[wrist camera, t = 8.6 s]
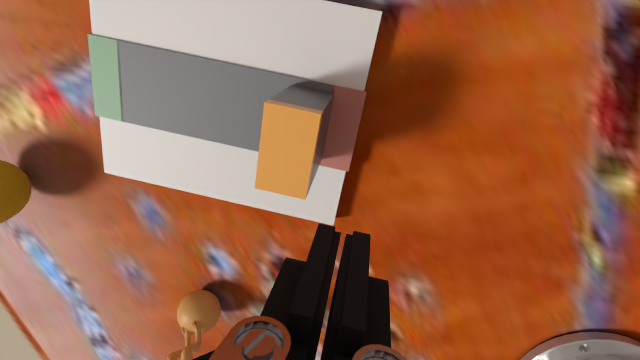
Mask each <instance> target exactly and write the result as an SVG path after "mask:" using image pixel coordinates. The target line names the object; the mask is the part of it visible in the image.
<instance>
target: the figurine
mask: <svg viewBox="0 0 640 360" xmlns="http://www.w3.org/2000/svg"><path fill="white" fill-rule="evenodd" d="M220 313H221V306H220V302H219V300H218V298H217V297H216V296H215V295H214V294H213V293H211V292H209V291H206V290H197V291H193V292H191V293H189V294H188V295H186V296H185V297H184V298H183V299H182V301H181V302H180V304H179V306H178V310H177V320H178V323H179V325H180V326H181V328H182V333H183V334H184V336H185V348H184V349H182V350H179V351H176V352H173V353H171V354H170V355H169V356H168V358H167V360H177V357H178V358H181V360H192V359H193V355H192V352H198V351H199V348H200V345H201V334H202V333H205V332H207V331H209V330H210V329H211V328H213V327H214V326H215V324H216V323H217V321H218V319H219V317H220ZM191 334H195V336H196V344H192V345H190V341H191ZM210 352H211V351H210Z"/></svg>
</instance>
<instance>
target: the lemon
mask: <svg viewBox="0 0 640 360" xmlns="http://www.w3.org/2000/svg"><path fill="white" fill-rule="evenodd" d="M30 195H31V184H30V181H29V179H28V175H27V174H25V173H24V172H23V171H22V170H21V169H20V168H18V167H17V166H15V165H13V164H11V163H8V162H5V161H1V160H0V223H2V222H4V221H6V220H8V219H10V218H11V217H13V216H14V215H16V214H17V213H19V212H20V211H21V210H22V209H23V208H24V207H25V205H26V204H27V203H28V201H29V199H30Z"/></svg>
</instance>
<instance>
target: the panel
mask: <svg viewBox="0 0 640 360" xmlns="http://www.w3.org/2000/svg"><path fill="white" fill-rule="evenodd" d="M89 3H90V14H91V26H92V35H91V34H88V44H89V55H90V65H91V76H92V87H93V97H94V108H95V116H99V117H100V128H101V139H102V150H103V162H104V173H109V174H113V175H117V176H121V177H126V178H130V179H134V180H139V181H143V182H147V183H152V184H156V185H160V186H165V187H169V188H173V189H178V190H182V191H186V192H191V193H195V194H199V195H204V196H208V197H212V198H217V199H221V200H225V201H230V202H234V203H238V204H242V205H247V206H251V207H255V208H260V209H264V210H268V211H273V212H277V213H281V214H286V215H290V216H294V217H299V218H303V219H307V220H312V221H316V222H320V223H325V224H329V225H334V220H335V216H336V212H337V207H338V203H339V199H340V194H341V190H342V185H343V181H344V177H345V172H346V171H347V172H348V171H349V167H350V163H351V159H352V154H353V150H354V146H355V141H356V137H357V133H358V129H359V124H360V120H361V116H362V111H363V107H364V103H365V98H366V94H367V92H365V91H364V90H365V85H366V81H367V77H368V72H369V68H370V64H371V59H372V55H373V50H374V46H375V42H376V37H377V33H378V29H379V24H380V20H381V16H382V11H376V10H371V9H366V8H361V7H356V6H351V5H345V4H340V3H335V2H330V1H325V0H89ZM291 85H297V86H302V87H307V88H311V89H316V90H321V91H326V92H330V93H335V94H334V99H333V104H332V109H331V114H330V119H329V125H328V130H327V135H326V140H325V145H324V150H323V155H322V160H321V163H320V165H319V168H318V170H317V173H316V175H315V177H314V180H313V182H312V185H311V187H310V190H309V192H308V195H307V197H306V200H304V199H299V198H295V197H291V196H286V195H282V194H278V193H273V192H269V191H264V190H260V189H256V188H255V180H256V171H257V162H258V154H259V145H260V136H261V127H262V118H263V109H264V102H265V101H267V100H268V99H270V98H272V97H273V96H275V95H276V94H278V93H280V92H281V91H283V90H284V89H286V88H288V87H289V86H291Z"/></svg>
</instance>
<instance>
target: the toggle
mask: <svg viewBox="0 0 640 360" xmlns="http://www.w3.org/2000/svg"><path fill="white" fill-rule="evenodd" d="M334 94H335V93H330V92H326V91H321V90H316V89H311V88H307V87H302V86H297V85H291V86H289V87H288V88H286V89H284V90H283V91H281V92H280V93H278V94H276V95H275V96H273V97H272V98H270V99H268V100H267V101H265V102H264V109H263V118H262V127H261V136H260V145H259V154H258V162H257V171H256V180H255V188H256V189H260V190H264V191H269V192H273V193H278V194H282V195H286V196H291V197H295V198H299V199H304V200H306V197H307V195H308V192H309V190H310V187H311V185H312V182H313V180H314V177H315V175H316V173H317V170H318V168H319V165H320V163H321V160H322V155H323V150H324V145H325V140H326V135H327V130H328V125H329V119H330V114H331V109H332V104H333V99H334Z"/></svg>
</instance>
